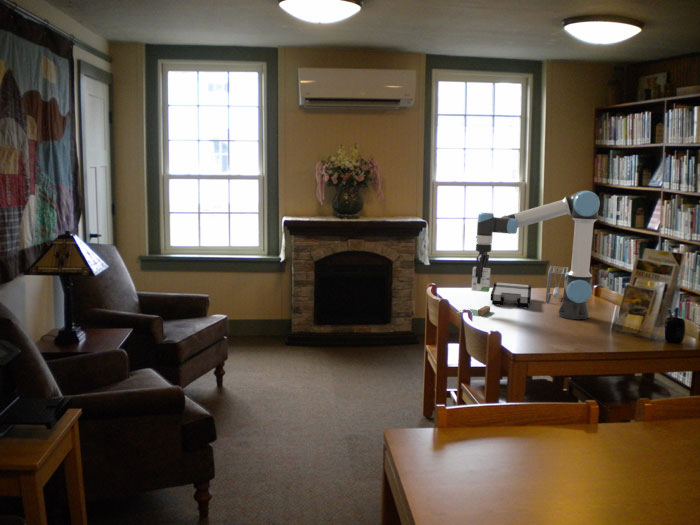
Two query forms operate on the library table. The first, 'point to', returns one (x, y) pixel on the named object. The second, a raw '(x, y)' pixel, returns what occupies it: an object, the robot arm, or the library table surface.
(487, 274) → the ink box
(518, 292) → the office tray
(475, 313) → the felt mat
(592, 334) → the library table surface
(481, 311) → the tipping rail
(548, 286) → the newton's cradle
